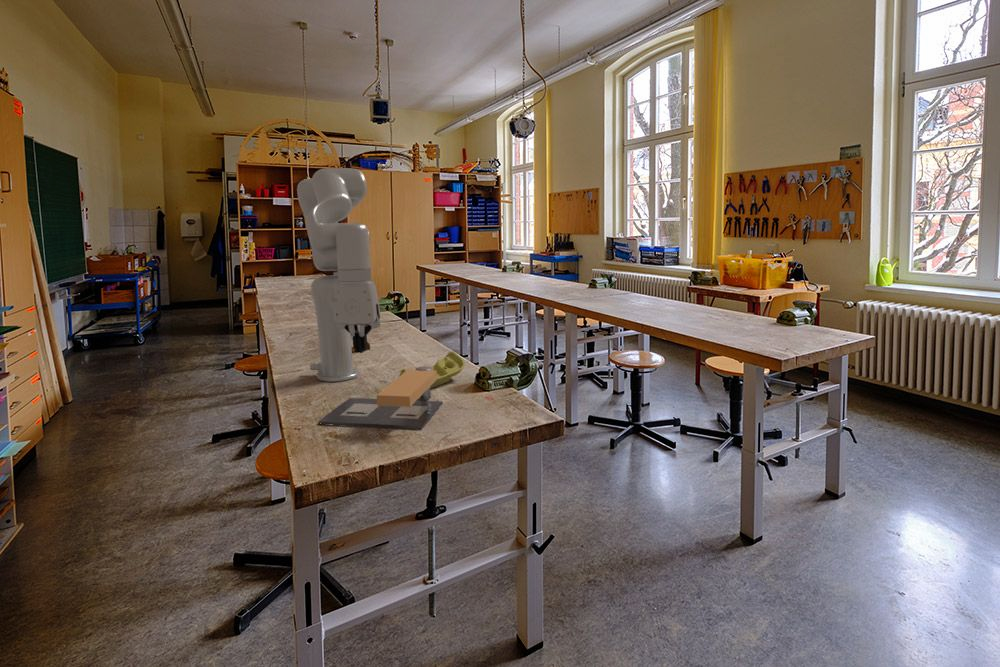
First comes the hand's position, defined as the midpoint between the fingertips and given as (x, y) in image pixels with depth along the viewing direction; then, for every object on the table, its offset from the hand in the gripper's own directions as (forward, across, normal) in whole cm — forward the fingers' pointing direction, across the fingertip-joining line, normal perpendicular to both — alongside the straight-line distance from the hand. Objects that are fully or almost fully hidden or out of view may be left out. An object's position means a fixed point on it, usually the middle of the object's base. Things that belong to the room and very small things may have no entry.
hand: (360, 351), depth 139 cm
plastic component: (+17, +9, +31) cm, 36 cm away
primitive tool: (+16, -33, +62) cm, 72 cm away
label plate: (+17, +4, +5) cm, 18 cm away
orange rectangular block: (+11, +11, +5) cm, 16 cm away
